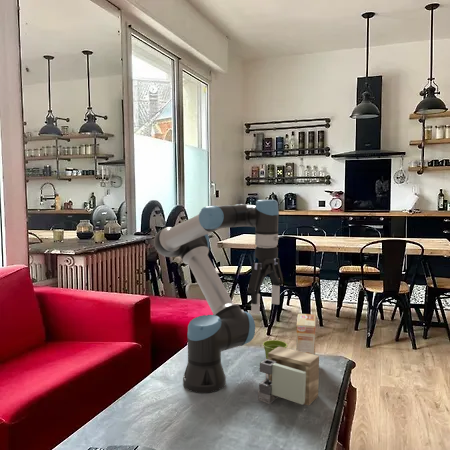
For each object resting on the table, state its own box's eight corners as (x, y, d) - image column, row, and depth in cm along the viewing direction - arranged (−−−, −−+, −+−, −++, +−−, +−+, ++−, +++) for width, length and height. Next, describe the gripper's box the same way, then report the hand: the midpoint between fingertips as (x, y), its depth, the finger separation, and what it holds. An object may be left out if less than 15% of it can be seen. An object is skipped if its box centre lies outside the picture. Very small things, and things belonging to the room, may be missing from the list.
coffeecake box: (314, 378, 165) (315, 326, 163) (294, 376, 166) (295, 324, 165) (314, 362, 180) (315, 314, 178) (296, 360, 181) (297, 313, 179)
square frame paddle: (259, 392, 147) (259, 362, 146) (265, 387, 151) (266, 358, 150) (300, 406, 139) (301, 375, 138) (306, 401, 142) (307, 370, 141)
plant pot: (270, 359, 183) (270, 338, 182) (291, 364, 177) (291, 343, 176) (258, 366, 175) (258, 345, 174) (279, 372, 170) (279, 350, 169)
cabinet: (257, 400, 148) (258, 358, 147) (277, 384, 160) (278, 346, 158) (300, 413, 140) (301, 370, 138) (318, 396, 151) (319, 355, 150)
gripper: (257, 252, 138) (256, 319, 140) (293, 242, 159) (292, 302, 161) (236, 249, 143) (236, 315, 145) (274, 241, 163) (273, 298, 165)
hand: (265, 308), depth 153 cm, fingers open, 13 cm apart
